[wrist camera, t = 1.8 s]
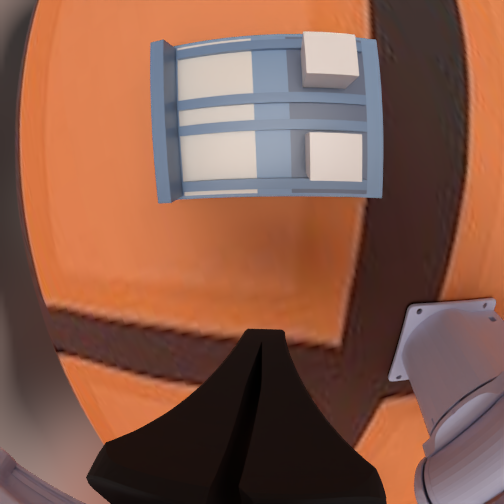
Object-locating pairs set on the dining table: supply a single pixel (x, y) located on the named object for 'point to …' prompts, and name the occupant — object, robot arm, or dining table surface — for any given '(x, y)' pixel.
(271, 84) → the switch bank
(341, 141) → the tab
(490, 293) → the dining table surface
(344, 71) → the tab
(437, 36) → the dining table surface
